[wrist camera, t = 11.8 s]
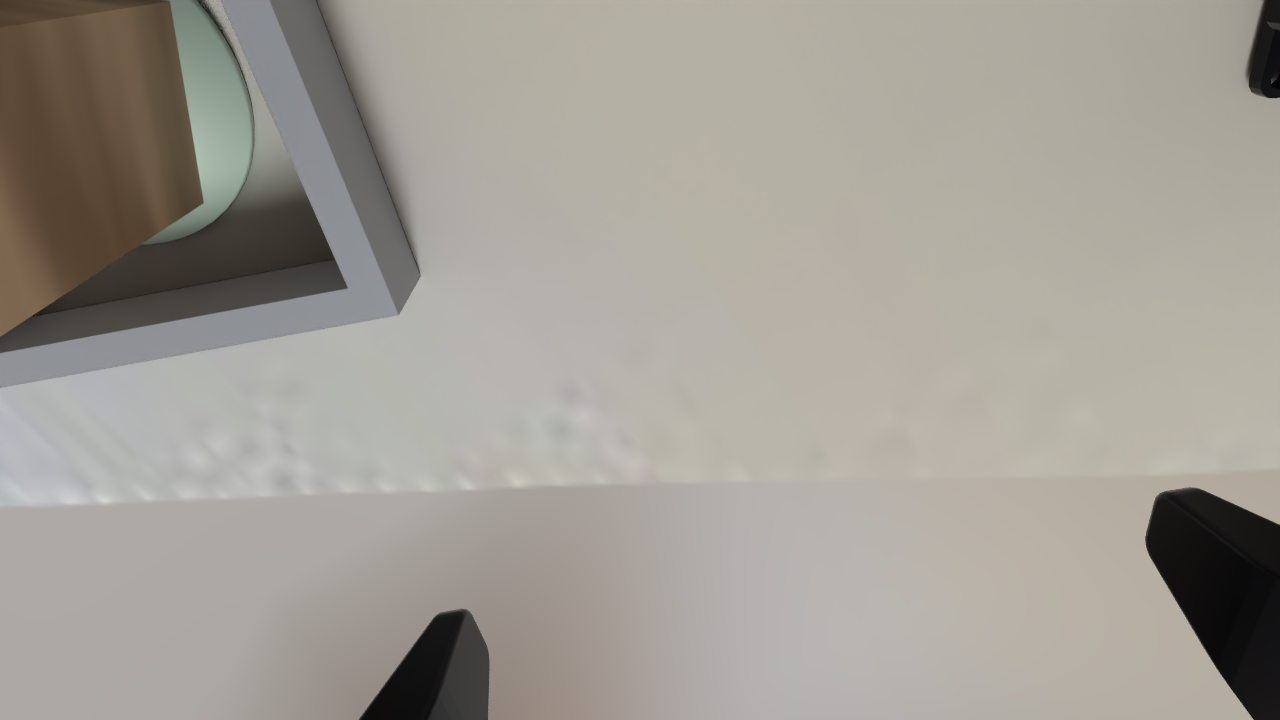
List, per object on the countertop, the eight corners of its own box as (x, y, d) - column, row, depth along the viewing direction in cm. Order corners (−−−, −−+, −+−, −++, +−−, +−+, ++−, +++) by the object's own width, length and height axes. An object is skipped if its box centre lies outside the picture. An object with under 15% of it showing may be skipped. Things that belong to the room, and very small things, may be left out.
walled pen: (201, -301, 14) (129, -342, 12) (420, 276, 21) (398, 314, 19) (-367, -159, 15) (-528, -174, 13) (17, 350, 22) (-47, 396, 20)
